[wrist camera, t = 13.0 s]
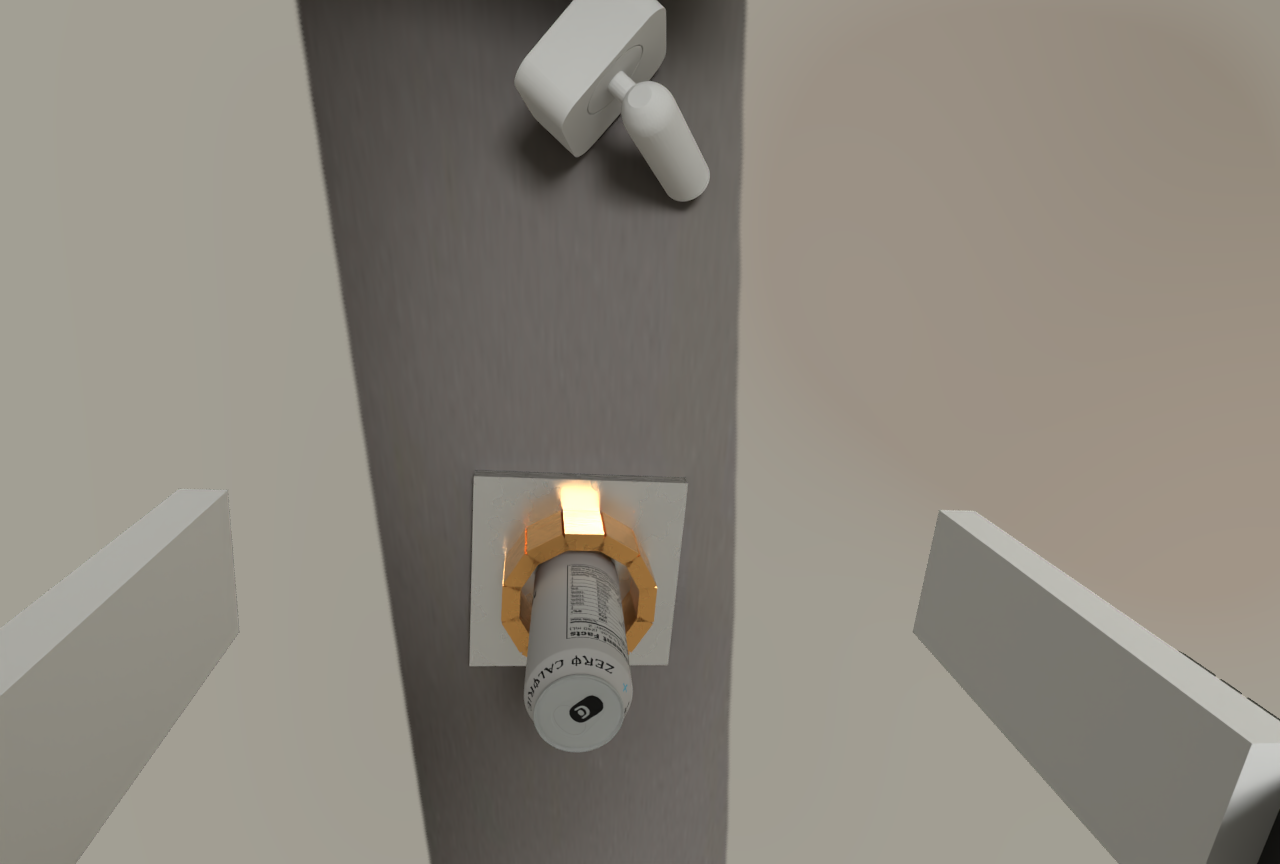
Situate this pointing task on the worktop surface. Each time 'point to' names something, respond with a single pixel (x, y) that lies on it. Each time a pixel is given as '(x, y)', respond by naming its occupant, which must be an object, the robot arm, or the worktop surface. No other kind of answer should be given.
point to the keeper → (573, 521)
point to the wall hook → (612, 88)
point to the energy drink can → (577, 653)
